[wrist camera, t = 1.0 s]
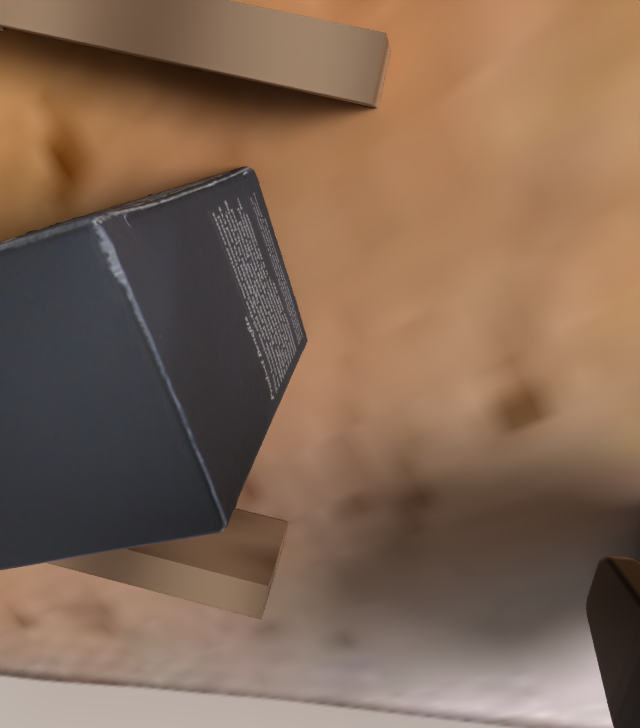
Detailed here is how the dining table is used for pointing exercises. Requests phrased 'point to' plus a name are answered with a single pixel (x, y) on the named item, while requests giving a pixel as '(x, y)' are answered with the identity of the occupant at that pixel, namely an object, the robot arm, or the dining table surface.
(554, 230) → the dining table surface
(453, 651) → the dining table surface
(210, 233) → the small box
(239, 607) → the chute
